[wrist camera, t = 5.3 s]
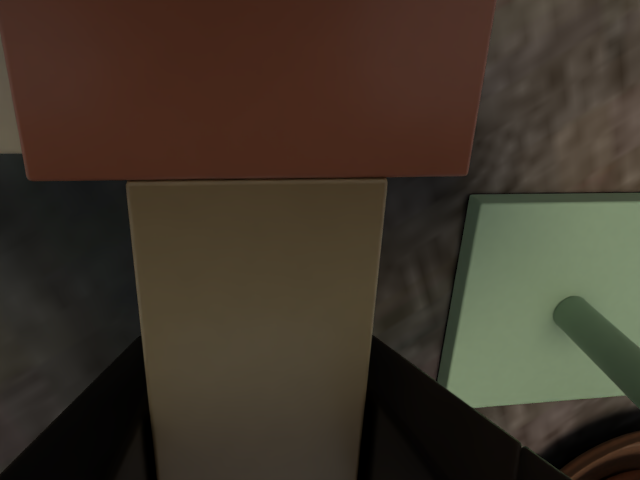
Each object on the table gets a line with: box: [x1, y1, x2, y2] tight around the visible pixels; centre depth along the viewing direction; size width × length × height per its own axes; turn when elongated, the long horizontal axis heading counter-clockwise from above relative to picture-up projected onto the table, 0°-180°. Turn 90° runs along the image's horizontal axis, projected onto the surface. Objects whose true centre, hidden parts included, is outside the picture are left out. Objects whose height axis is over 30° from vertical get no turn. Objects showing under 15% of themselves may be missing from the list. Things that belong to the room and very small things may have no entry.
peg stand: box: [437, 193, 640, 409], centre depth 19 cm, size 9×9×8 cm
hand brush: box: [0, 0, 497, 480], centre depth 9 cm, size 22×8×3 cm, turn 178°
